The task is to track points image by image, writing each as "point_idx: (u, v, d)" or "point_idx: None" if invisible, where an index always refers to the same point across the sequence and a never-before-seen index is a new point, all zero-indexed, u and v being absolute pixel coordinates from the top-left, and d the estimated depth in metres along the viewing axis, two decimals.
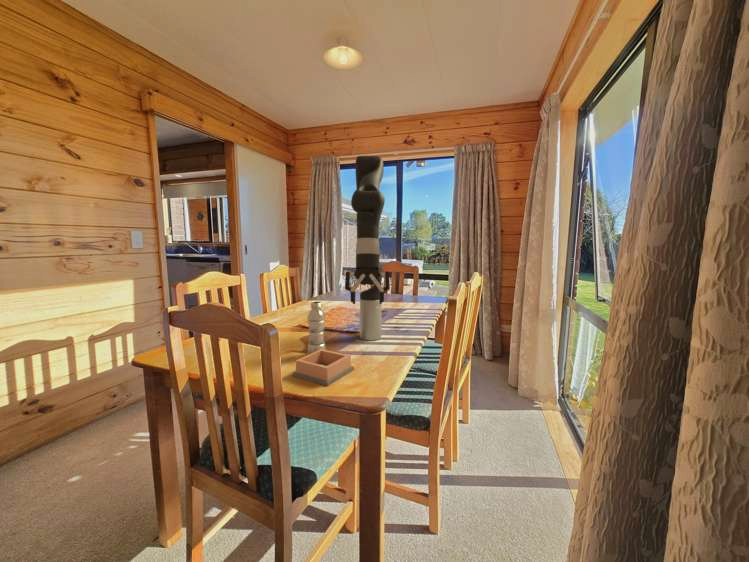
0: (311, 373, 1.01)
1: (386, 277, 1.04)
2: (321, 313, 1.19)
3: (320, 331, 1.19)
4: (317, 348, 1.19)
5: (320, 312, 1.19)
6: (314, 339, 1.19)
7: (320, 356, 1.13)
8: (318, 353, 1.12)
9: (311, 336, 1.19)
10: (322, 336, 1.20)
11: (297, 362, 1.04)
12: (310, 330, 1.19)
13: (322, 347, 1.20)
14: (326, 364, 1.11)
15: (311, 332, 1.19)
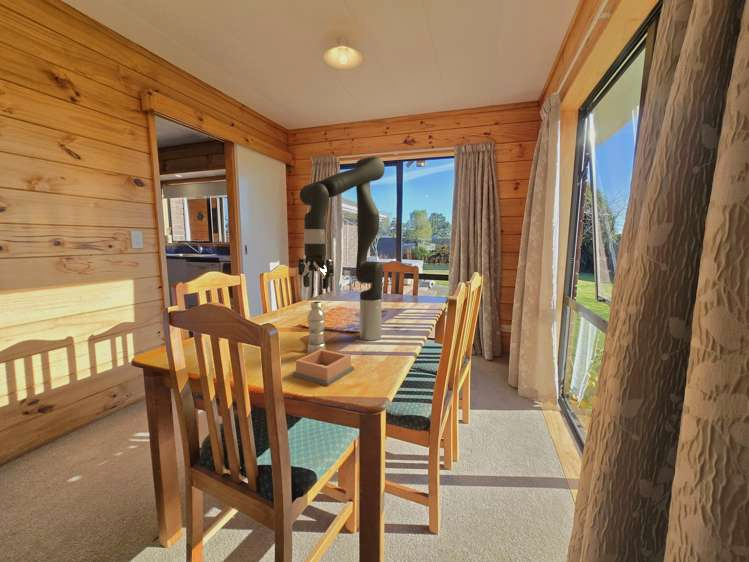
0: (311, 373, 1.01)
1: (326, 265, 1.14)
2: (321, 313, 1.19)
3: (320, 331, 1.19)
4: (317, 348, 1.19)
5: (320, 312, 1.19)
6: (314, 339, 1.19)
7: (320, 356, 1.13)
8: (318, 353, 1.12)
9: (311, 336, 1.19)
10: (322, 336, 1.20)
11: (297, 362, 1.04)
12: (310, 330, 1.19)
13: (322, 347, 1.20)
14: (326, 364, 1.11)
15: (311, 332, 1.19)
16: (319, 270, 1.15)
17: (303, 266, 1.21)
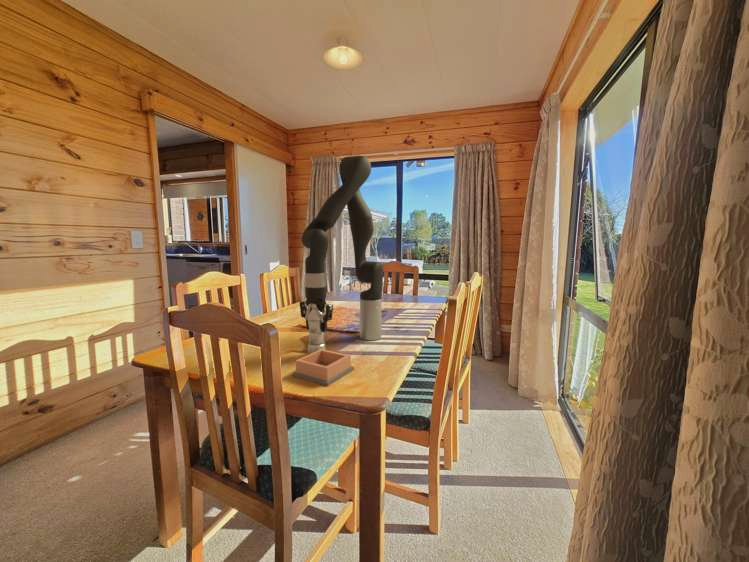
0: (311, 373, 1.01)
1: (326, 310, 1.16)
2: None
3: (320, 331, 1.19)
4: (317, 348, 1.19)
5: None
6: (314, 339, 1.19)
7: (320, 356, 1.13)
8: (318, 353, 1.12)
9: (311, 336, 1.19)
10: (322, 336, 1.20)
11: (297, 362, 1.04)
12: (310, 330, 1.19)
13: (322, 347, 1.20)
14: (326, 364, 1.11)
15: (312, 332, 1.19)
16: (318, 314, 1.17)
17: (305, 308, 1.23)
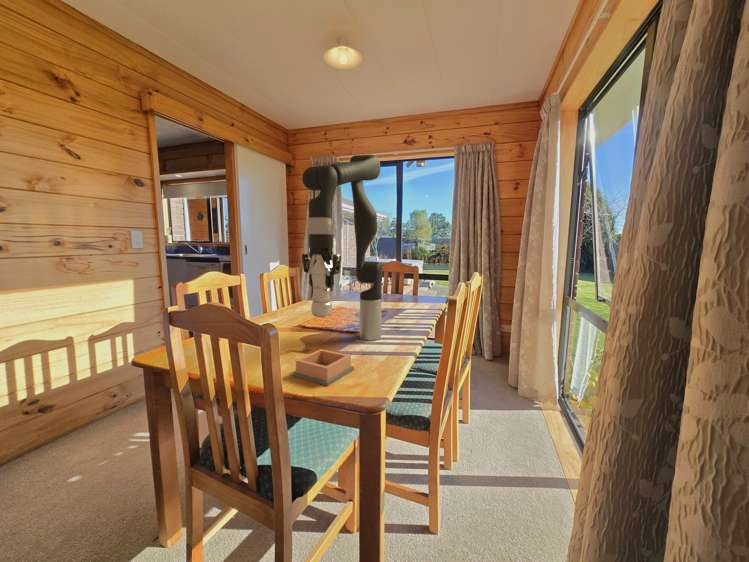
0: (311, 373, 1.01)
1: (333, 260, 0.99)
2: None
3: (326, 287, 1.02)
4: (322, 306, 1.02)
5: None
6: (318, 296, 1.02)
7: (320, 356, 1.13)
8: (318, 353, 1.12)
9: (315, 293, 1.02)
10: (328, 293, 1.03)
11: (297, 362, 1.04)
12: (314, 286, 1.02)
13: (328, 306, 1.03)
14: (326, 364, 1.11)
15: (316, 288, 1.02)
16: (324, 266, 1.00)
17: (308, 262, 1.06)
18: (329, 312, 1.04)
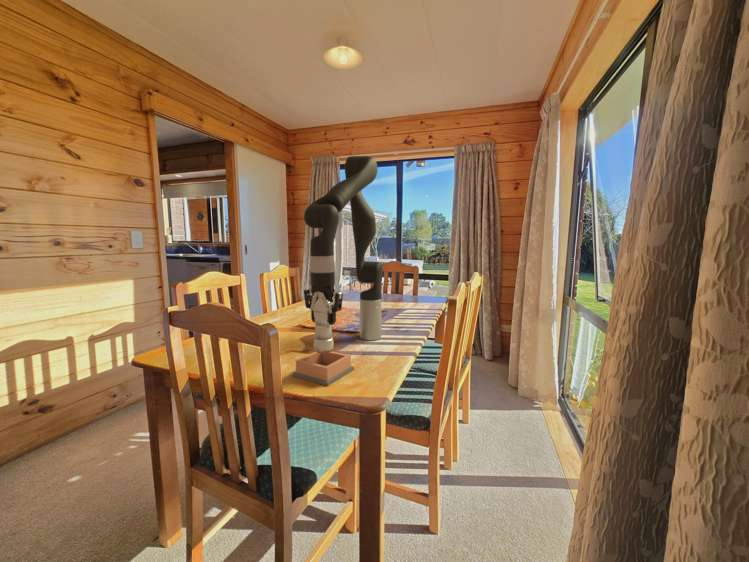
0: (311, 373, 1.01)
1: (335, 299, 1.00)
2: None
3: (328, 324, 1.03)
4: (324, 343, 1.03)
5: None
6: (320, 333, 1.03)
7: (320, 356, 1.13)
8: (318, 353, 1.12)
9: (317, 329, 1.03)
10: (330, 329, 1.04)
11: (297, 362, 1.04)
12: (316, 322, 1.03)
13: (330, 342, 1.04)
14: (326, 364, 1.11)
15: (318, 325, 1.03)
16: (326, 303, 1.01)
17: (310, 298, 1.07)
18: (331, 348, 1.04)
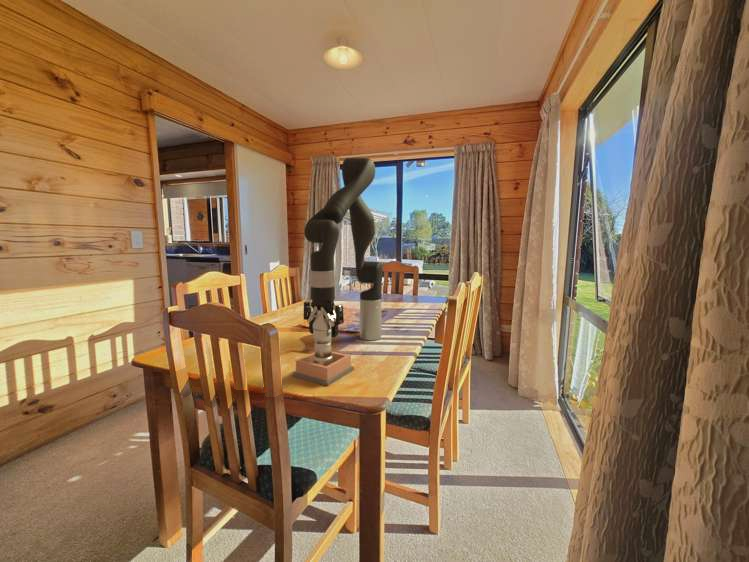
0: (311, 373, 1.01)
1: (336, 312, 1.00)
2: (328, 321, 1.04)
3: (327, 342, 1.04)
4: (323, 361, 1.04)
5: (327, 320, 1.04)
6: (320, 351, 1.03)
7: None
8: None
9: (317, 348, 1.04)
10: (329, 347, 1.05)
11: (297, 362, 1.04)
12: (316, 341, 1.04)
13: (329, 360, 1.05)
14: None
15: (317, 343, 1.04)
16: (327, 317, 1.01)
17: (309, 310, 1.07)
18: None
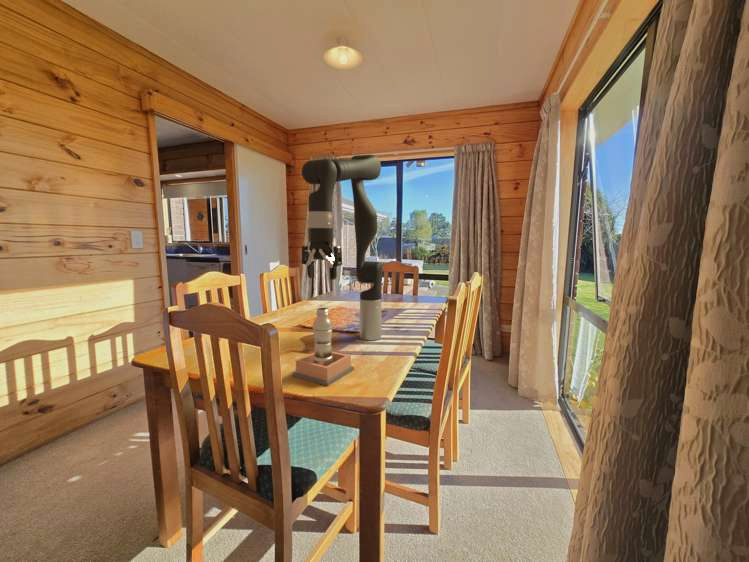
0: (311, 373, 1.01)
1: (334, 252, 1.00)
2: (328, 321, 1.04)
3: (327, 342, 1.04)
4: (323, 361, 1.04)
5: (327, 320, 1.04)
6: (320, 352, 1.03)
7: None
8: None
9: (317, 348, 1.04)
10: (329, 347, 1.05)
11: (297, 362, 1.04)
12: (316, 341, 1.04)
13: (329, 360, 1.05)
14: None
15: (317, 343, 1.04)
16: (326, 258, 1.01)
17: (307, 254, 1.07)
18: None
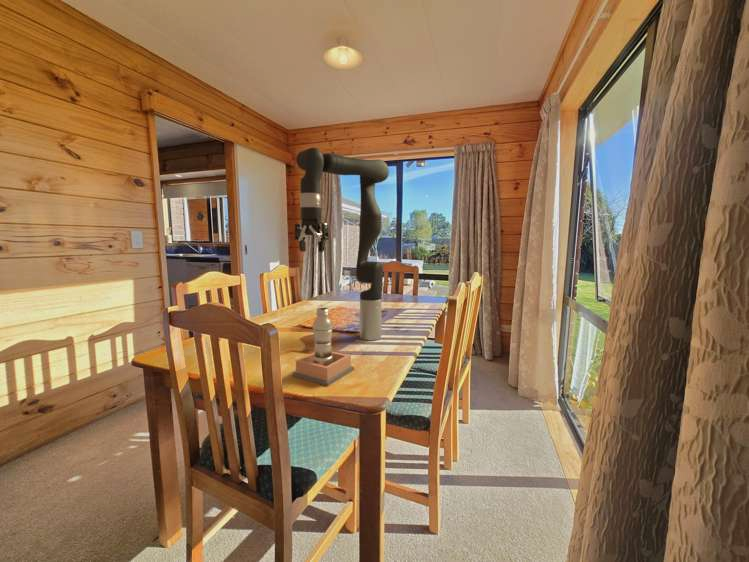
0: (311, 373, 1.01)
1: (322, 228, 1.17)
2: (328, 321, 1.04)
3: (327, 342, 1.04)
4: (323, 361, 1.04)
5: (327, 320, 1.04)
6: (320, 351, 1.03)
7: None
8: None
9: (317, 348, 1.04)
10: (329, 347, 1.05)
11: (297, 362, 1.04)
12: (316, 341, 1.04)
13: (329, 360, 1.05)
14: None
15: (317, 343, 1.04)
16: (315, 233, 1.18)
17: (299, 231, 1.24)
18: None
